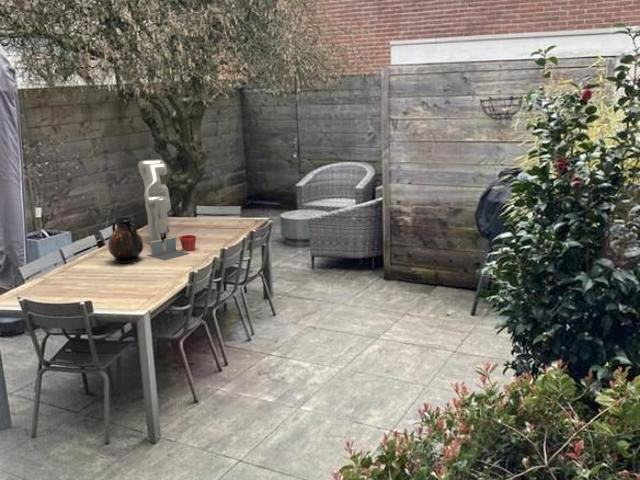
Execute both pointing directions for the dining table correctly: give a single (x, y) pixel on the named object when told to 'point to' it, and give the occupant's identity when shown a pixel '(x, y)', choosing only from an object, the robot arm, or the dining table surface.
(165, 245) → the tile
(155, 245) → the tile
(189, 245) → the flower pot
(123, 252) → the amphora vase
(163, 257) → the mat
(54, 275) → the dining table surface
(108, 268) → the dining table surface
